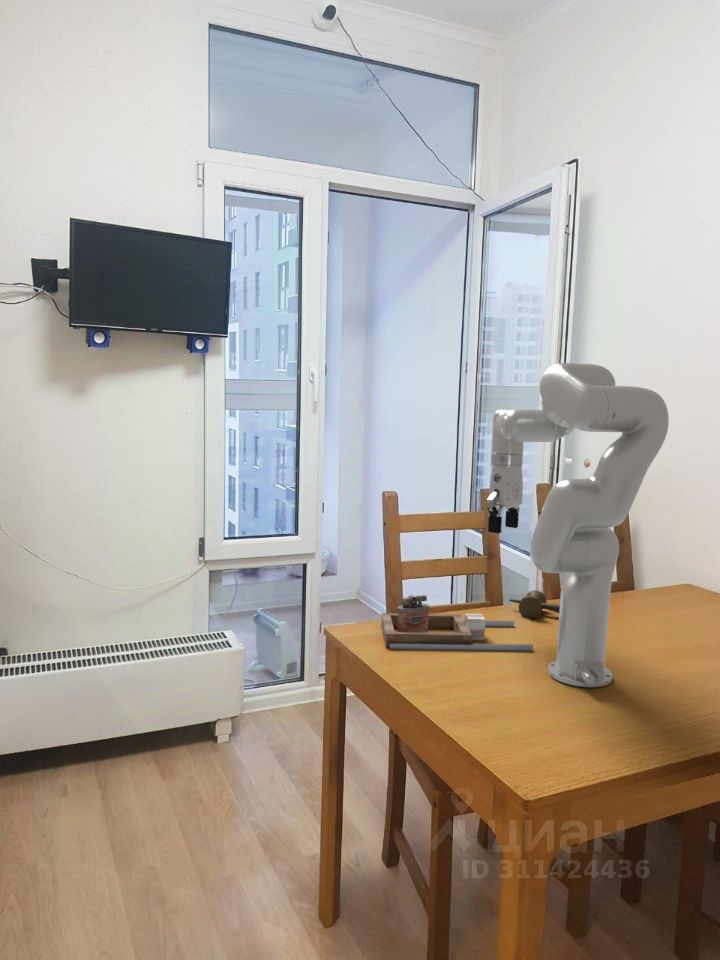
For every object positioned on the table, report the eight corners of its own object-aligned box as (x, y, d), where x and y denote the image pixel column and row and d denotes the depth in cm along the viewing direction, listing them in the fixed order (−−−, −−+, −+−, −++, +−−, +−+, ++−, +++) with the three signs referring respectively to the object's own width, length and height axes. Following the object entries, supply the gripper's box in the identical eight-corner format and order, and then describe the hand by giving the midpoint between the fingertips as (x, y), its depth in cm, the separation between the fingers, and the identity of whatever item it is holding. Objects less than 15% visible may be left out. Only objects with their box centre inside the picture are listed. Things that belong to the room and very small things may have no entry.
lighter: (400, 641, 165) (401, 599, 164) (393, 636, 168) (395, 595, 167) (430, 637, 168) (432, 596, 167) (424, 633, 171) (425, 592, 170)
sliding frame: (489, 648, 161) (490, 626, 160) (385, 646, 160) (386, 625, 160) (476, 626, 176) (477, 606, 175) (381, 625, 175) (381, 605, 174)
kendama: (583, 629, 179) (504, 615, 187) (587, 620, 188) (511, 606, 196) (586, 606, 179) (506, 592, 186) (590, 597, 187) (513, 585, 195)
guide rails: (532, 652, 160) (533, 645, 160) (389, 650, 159) (389, 643, 159) (513, 626, 178) (513, 620, 177) (384, 624, 176) (384, 618, 176)
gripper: (505, 463, 166) (502, 536, 168) (535, 459, 180) (531, 527, 182) (476, 461, 170) (473, 532, 172) (507, 457, 184) (504, 523, 186)
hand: (503, 529), depth 177 cm, fingers open, 9 cm apart
